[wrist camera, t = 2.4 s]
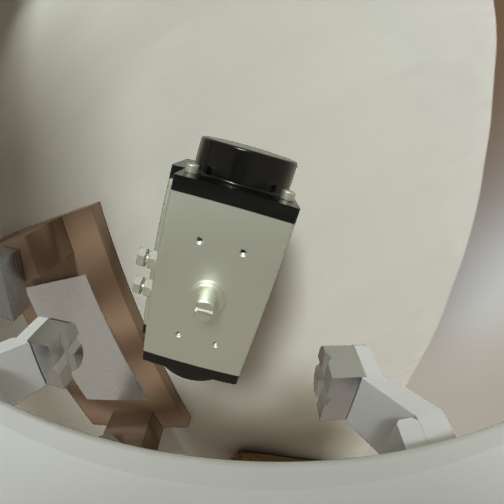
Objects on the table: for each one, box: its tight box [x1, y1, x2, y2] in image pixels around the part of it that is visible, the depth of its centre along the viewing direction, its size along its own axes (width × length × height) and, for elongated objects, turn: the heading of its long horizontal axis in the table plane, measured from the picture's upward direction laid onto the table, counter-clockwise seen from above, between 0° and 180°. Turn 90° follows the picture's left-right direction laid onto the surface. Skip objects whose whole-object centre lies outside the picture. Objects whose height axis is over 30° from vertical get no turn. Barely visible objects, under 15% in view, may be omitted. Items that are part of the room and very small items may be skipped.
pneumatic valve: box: [132, 136, 300, 384], centre depth 17 cm, size 6×12×12 cm, turn 164°
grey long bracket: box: [0, 244, 149, 443], centre depth 22 cm, size 24×8×7 cm, turn 12°
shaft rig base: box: [0, 202, 190, 451], centre depth 24 cm, size 24×13×6 cm, turn 12°
